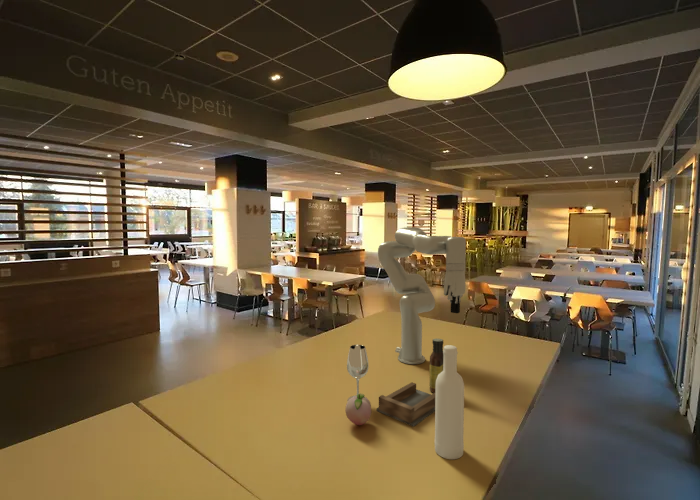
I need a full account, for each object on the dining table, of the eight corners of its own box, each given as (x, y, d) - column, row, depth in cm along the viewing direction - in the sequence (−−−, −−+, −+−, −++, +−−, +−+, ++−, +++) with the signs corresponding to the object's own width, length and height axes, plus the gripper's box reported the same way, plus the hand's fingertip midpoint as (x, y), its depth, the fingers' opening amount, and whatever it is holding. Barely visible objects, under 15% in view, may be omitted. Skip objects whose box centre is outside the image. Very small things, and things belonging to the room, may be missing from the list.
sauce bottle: (446, 395, 139) (447, 343, 138) (429, 393, 141) (429, 342, 139) (445, 387, 146) (446, 337, 145) (429, 386, 147) (429, 337, 146)
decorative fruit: (346, 417, 124) (346, 387, 123) (370, 417, 124) (370, 388, 123) (344, 432, 114) (344, 401, 114) (371, 433, 114) (371, 401, 114)
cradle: (376, 410, 128) (376, 396, 128) (412, 389, 144) (412, 376, 144) (413, 426, 118) (413, 410, 117) (447, 402, 134) (447, 388, 133)
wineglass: (371, 397, 138) (371, 344, 136) (365, 407, 130) (364, 351, 129) (351, 394, 140) (350, 342, 139) (344, 404, 133) (343, 349, 132)
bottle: (430, 443, 109) (432, 342, 107) (457, 442, 109) (458, 341, 107) (439, 460, 101) (441, 352, 99) (468, 459, 101) (469, 351, 99)
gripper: (455, 265, 158) (455, 308, 159) (437, 268, 147) (437, 314, 148) (472, 266, 152) (472, 310, 154) (455, 269, 142) (454, 317, 143)
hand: (455, 312), depth 151 cm, fingers closed
